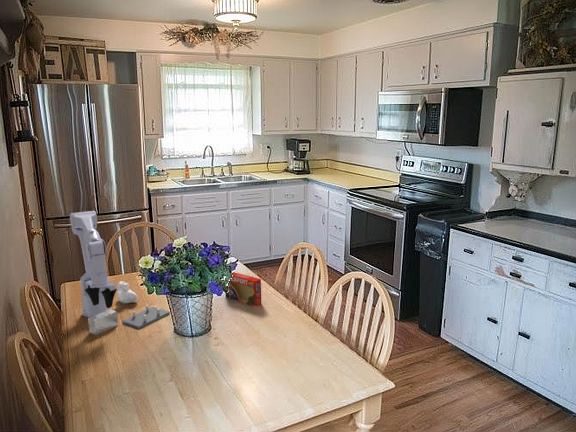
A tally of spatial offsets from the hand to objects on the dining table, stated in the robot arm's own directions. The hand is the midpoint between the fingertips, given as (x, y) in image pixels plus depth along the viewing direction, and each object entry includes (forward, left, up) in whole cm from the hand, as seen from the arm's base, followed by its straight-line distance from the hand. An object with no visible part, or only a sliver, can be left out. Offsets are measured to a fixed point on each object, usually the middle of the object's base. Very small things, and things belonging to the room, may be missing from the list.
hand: (102, 306), depth 173 cm
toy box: (+29, +50, -10) cm, 59 cm away
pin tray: (+6, +15, -10) cm, 19 cm away
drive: (-1, 0, -10) cm, 10 cm away
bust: (-15, +22, -10) cm, 28 cm away
